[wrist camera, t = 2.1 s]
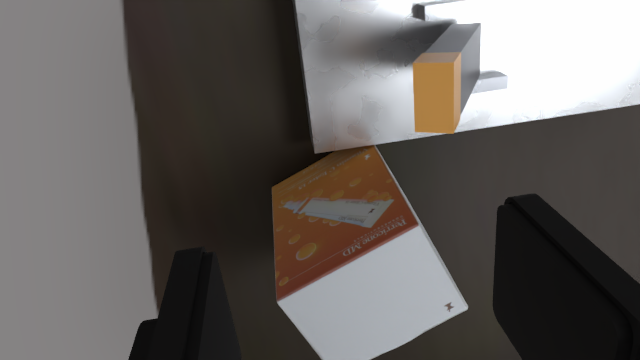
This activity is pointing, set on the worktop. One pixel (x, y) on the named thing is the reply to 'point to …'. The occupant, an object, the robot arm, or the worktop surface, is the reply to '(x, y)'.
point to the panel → (495, 62)
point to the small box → (356, 259)
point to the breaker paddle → (446, 78)
